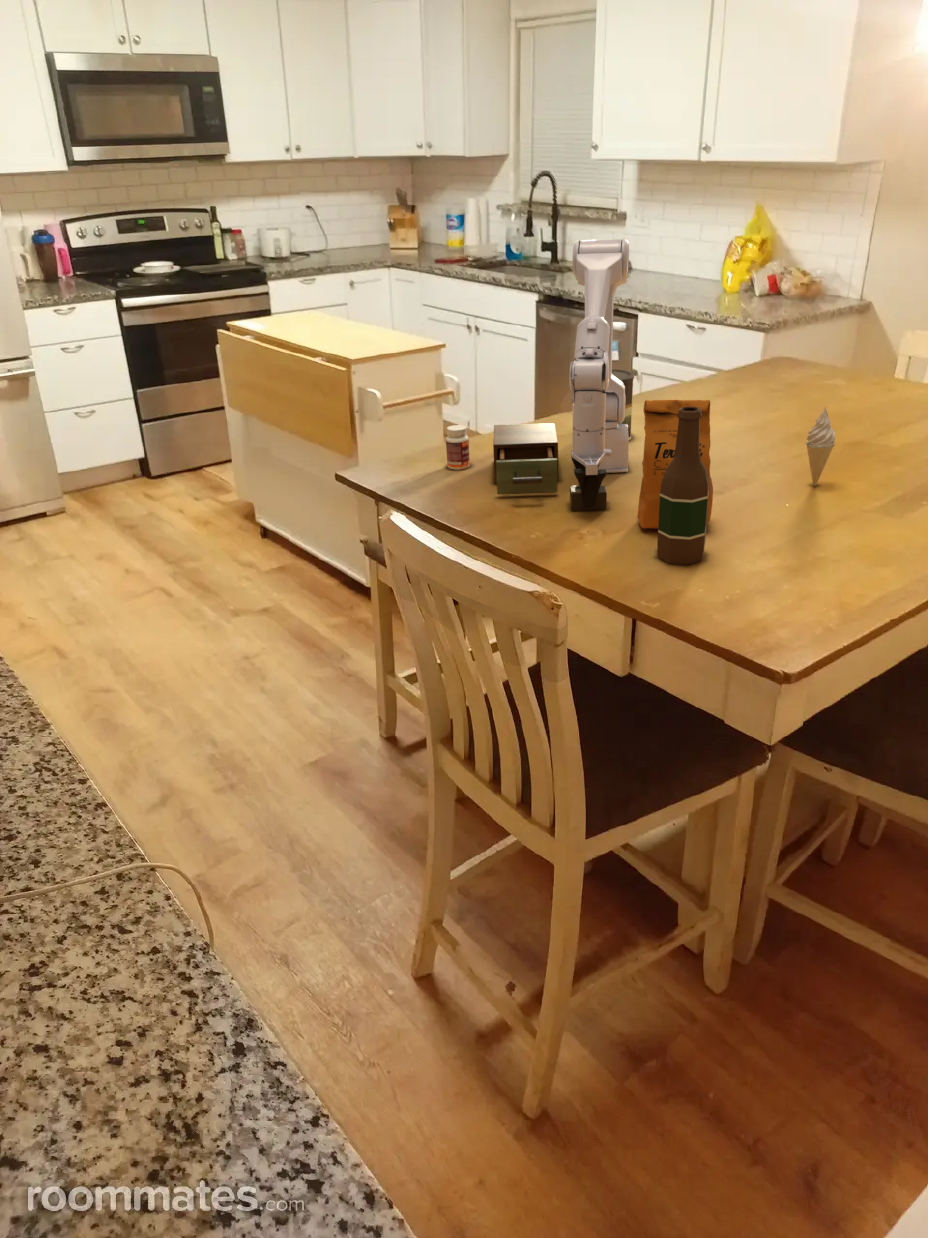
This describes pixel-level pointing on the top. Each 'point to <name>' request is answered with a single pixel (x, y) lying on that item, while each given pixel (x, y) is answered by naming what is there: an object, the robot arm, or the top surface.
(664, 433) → the coffee package
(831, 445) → the ice cream cone
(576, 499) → the dark brown box
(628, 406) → the coffee can
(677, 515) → the beer bottle
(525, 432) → the cabinet
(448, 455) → the pill bottle
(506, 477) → the drawer
